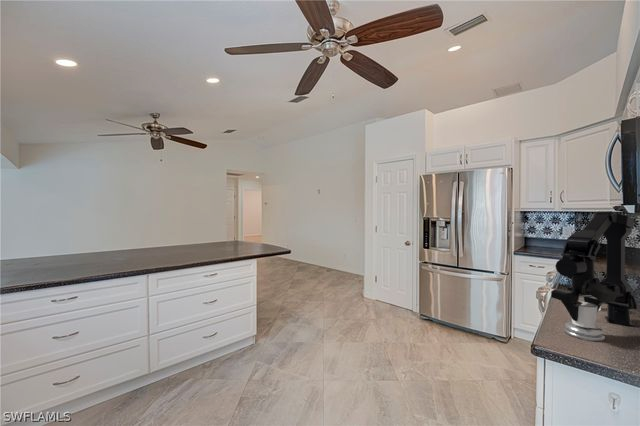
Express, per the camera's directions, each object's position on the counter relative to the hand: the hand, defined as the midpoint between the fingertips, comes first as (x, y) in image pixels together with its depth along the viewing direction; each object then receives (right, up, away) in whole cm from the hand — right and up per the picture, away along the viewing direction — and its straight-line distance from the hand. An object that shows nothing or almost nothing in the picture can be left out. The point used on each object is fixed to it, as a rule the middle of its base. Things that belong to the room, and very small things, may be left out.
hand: (583, 320), depth 93 cm
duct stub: (0, -5, 0) cm, 5 cm away
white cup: (0, -2, 0) cm, 2 cm away
